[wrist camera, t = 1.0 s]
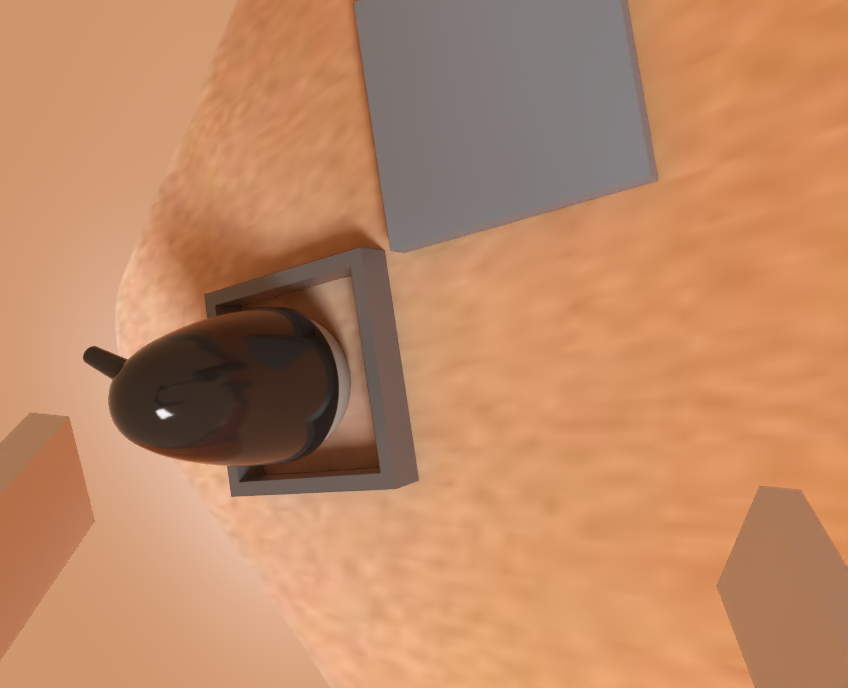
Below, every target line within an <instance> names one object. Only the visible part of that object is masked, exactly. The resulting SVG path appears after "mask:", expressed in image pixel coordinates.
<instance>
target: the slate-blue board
mask: <svg viewBox="0 0 848 688" xmlns="http://www.w3.org/2000/svg"><path fill="white" fill-rule="evenodd" d="M353 4H354V11H355V17H356V24H357V31H358V37H359V44H360V51H361V57H362V64H363V71H364V77H365V84H366V91H367V98H368V104H369V111H370V118H371V124H372V131H373V138H374V144H375V151H376V158H377V164H378V171H379V178H380V184H381V191H382V198H383V205H384V211H385V218H386V225H387V231H388V238H389V245H390V251H395V252H403V253H405V252H409V251H412V250H416V249H419V248H423V247H426V246H430V245H433V244H437V243H440V242H444V241H447V240H451V239H454V238H458V237H461V236H465V235H468V234H472V233H475V232H479V231H482V230H486V229H489V228H493V227H496V226H500V225H503V224H507V223H511V222H514V221H518V220H521V219H525V218H528V217H532V216H535V215H539V214H542V213H546V212H549V211H553V210H556V209H560V208H563V207H567V206H570V205H574V204H577V203H581V202H584V201H588V200H591V199H595V198H598V197H602V196H605V195H609V194H613V193H616V192H620V191H623V190H627V189H630V188H634V187H637V186H641V185H644V184H648V183H651V182H655V181H658V175H657V169H656V164H655V158H654V152H653V146H652V141H651V135H650V129H649V123H648V118H647V112H646V106H645V100H644V95H643V89H642V83H641V77H640V71H639V66H638V60H637V54H636V48H635V43H634V37H633V31H632V25H631V20H630V14H629V8H628V2H627V0H358V1H357V2H355V3H353Z"/></svg>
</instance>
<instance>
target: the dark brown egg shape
mask: <svg viewBox="0 0 848 688" xmlns="http://www.w3.org/2000/svg"><path fill="white" fill-rule="evenodd" d="M83 360H84V362H86V363H87V364H89V365H90V366H92V367H93V368H95V369H97V370H98V371H100V372H102V373H103V374H105V375H106V376H108V377H109V378H111V379H112V383H111V385H110V390H109V397H108V403H109V410H110V414H111V417H112V420H113V422H114V424H115V425H116V427H117V428H118V430H119V431H120V432H121V433H122V434H123V435H124V436H125V437H126V438H127V439H128V440H130V441H131V442H133V443H134V444H136V445H138V446H140V447H142V448H144V449H146V450H148V451H151V452H153V453H156V454H159V455H163V456H166V457H169V458H173V459H178V460H183V461H188V462H195V463H203V464H211V465H222V466H263V465H275V464H282V463H287V462H292V461H295V460H299V459H301V458H304V457H306V456H307V455H309V454H311V453H312V452H313V451H314V450H316V449H317V448H318V447H319V446H320V445H321V443H322V442H323V441H324V440H325V439H327V438H328V437H329V436H330V435H331V434H332V433H333V431H334V430H335V429H336V428H337V426H338V425H339V423H340V422H341V420H342V418H343V416H344V414H345V411H346V409H347V406H348V402H349V397H350V388H351V381H350V371H349V366H348V363H347V360H346V357H345V355H344V353H343V350H342V349H341V347H340V345H339V344H338V342H337V341H336V339H335V338H334V337H333V336H332V335H331V334H330V333H329V332H328V331H327V330H326V329H325V328H324V327H323V326H321V325H320V324H318V323H317V322H315V321H313V320H311V319H309V318H308V317H306V316H305V315H303V314H302V313H300V312H298V311H296V310H293V309H290V308H284V307H261V308H254V309H248V310H242V311H237V312H231V313H227V314H223V315H219V316H215V317H211V318H208V319H205V320H202V321H199V322H196V323H193V324H190V325H188V326H185V327H183V328H180V329H178V330H175V331H173V332H171V333H168V334H166V335H164V336H162V337H160V338H158V339H156V340H154V341H153V342H151V343H149V344H147V345H146V346H144V347H143V348H141V349H140V350H139V351H137V352H136V353H135V354H134V355H132V356H131V357H130V358H129V359H125V358H123V357H120V356H118V355H115V354H113V353H111V352H108V351H106V350H103V349H101V348H98V347H96V346H92V347H89V348H88V349H87V350H86V351H85V353H84V355H83Z"/></svg>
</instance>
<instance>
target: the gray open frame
mask: <svg viewBox="0 0 848 688" xmlns="http://www.w3.org/2000/svg"><path fill="white" fill-rule="evenodd" d="M351 275H352V280H353V287H354V294H355V301H356V308H357V315H358V322H359V328H360V335H361V342H362V349H363V356H364V363H365V370H366V376H367V383H368V390H369V397H370V404H371V411H372V418H373V424H374V431H375V438H376V445H377V452H378V459H379V465H380V467H379V468H365V469H351V470H336V471H322V472H308V473H293V474H279V475H264V468H263V466H227V468H228V475H229V483H230V490H231V497H235V496H257V495H278V494H299V493H321V492H342V491H364V490H385V489H397V488H400V487H403V486H405V485H408V484H411V483H413V482H416V481H419V478H418V472H417V465H416V458H415V452H414V445H413V438H412V431H411V425H410V418H409V411H408V405H407V398H406V391H405V384H404V378H403V371H402V364H401V358H400V351H399V344H398V338H397V331H396V324H395V317H394V311H393V304H392V297H391V291H390V284H389V277H388V270H387V264H386V257H385V250H377V249H370V248H363V247H360V248H356V249H353V250H350V251H346V252H343V253H340V254H336V255H333V256H330V257H327V258H323V259H320V260H317V261H313V262H310V263H307V264H303V265H300V266H297V267H294V268H290V269H287V270H284V271H280V272H277V273H274V274H270V275H267V276H264V277H261V278H257V279H254V280H251V281H247V282H244V283H241V284H237V285H234V286H231V287H228V288H224V289H221V290H218V291H214V292H211V293H208V294H205V303H206V310H207V318H211V317H215V316H219V315H223V314H227V313H231V312H237V311H242V305H246V304H249V303H253V302H257V301H260V300H264V299H267V298H271V297H275V296H278V295H282V294H286V293H289V292H293V291H296V290H300V289H304V288H307V287H311V286H315V285H318V284H322V283H325V282H329V281H333V280H336V279H340V278H343V277H347V276H351Z"/></svg>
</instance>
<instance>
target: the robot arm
mask: <svg viewBox="0 0 848 688" xmlns="http://www.w3.org/2000/svg"><path fill="white" fill-rule="evenodd" d="M94 521H95V520H94V516H93V512H92V508H91V504H90V499H89V496H88V491H87V487H86V484H85V479H84V475H83V471H82V467H81V463H80V459H79V455H78V450H77V446H76V442H75V438H74V434H73V430H72V426H71V422H70V418H69V417H68V416H58V415H47V414H38V413H29V414H28V415H27V416H26V417H25V418H24V419H23V420H22V421H21V422H20V423H19V424H18V426H17V427H16V428H15V429H14V430H13V431H12V432H11V433H10V434H9V435H8V436H7V437H6V438H5V439H4V440H3V441H2V442H1V443H0V661H1V659H2V658H3V656H4V655H5V653H6V652H7V650H8V649H9V647H10V646H11V644H12V643H13V641H14V640H15V638H16V637H17V636H18V634H19V633H20V631H21V630H22V628H23V627H24V625H25V624H26V622H27V621H28V619H29V618H30V616H31V615H32V613H33V612H34V610H35V609H36V607H37V606H38V605H39V603H40V601H41V600H42V598H43V597H44V596H45V594H46V593H47V591H48V590H49V588H50V587H51V585H52V584H53V582H54V581H55V579H56V578H57V576H58V575H59V573H60V572H61V570H62V569H63V568H64V566H65V565H66V563H67V562H68V560H69V559H70V557H71V556H72V554H73V553H74V551H75V550H76V548H77V547H78V545H79V544H80V542H81V541H82V539H83V538H84V536H85V535H86V533H87V532H88V531H89V529H90V527H91V526H92V525H93V523H94ZM717 588H718V591H719V594H720V596H721V599H722V601H723V604H724V607H725V609H726V612H727V615H728V617H729V620H730V623H731V625H732V628H733V631H734V633H735V636H736V639H737V641H738V644H739V647H740V649H741V652H742V654H743V657H744V660H745V662H746V665H747V668H748V670H749V673H750V676H751V678H752V681H753V684H754V686H755V688H848V567H847V566H846V564H845V562H844V561H843V559H842V557H841V556H840V554H839V552H838V551H837V549H836V547H835V546H834V544H833V542H832V541H831V539H830V537H829V536H828V534H827V532H826V531H825V529H824V527H823V526H822V524H821V522H820V521H819V519H818V517H817V516H816V514H815V512H814V511H813V509H812V508H811V506H810V504H809V503H808V501H807V499H806V498H805V496H804V494H803V493H802V491H801V490H797V489H787V488H777V487H767V486H759V488H758V490H757V493H756V495H755V497H754V500H753V502H752V504H751V507H750V509H749V511H748V514H747V516H746V518H745V521H744V523H743V525H742V528H741V530H740V532H739V535H738V537H737V539H736V542H735V544H734V546H733V549H732V551H731V553H730V556H729V558H728V560H727V563H726V565H725V567H724V570H723V572H722V574H721V577H720V579H719V581H718V584H717Z"/></svg>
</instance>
